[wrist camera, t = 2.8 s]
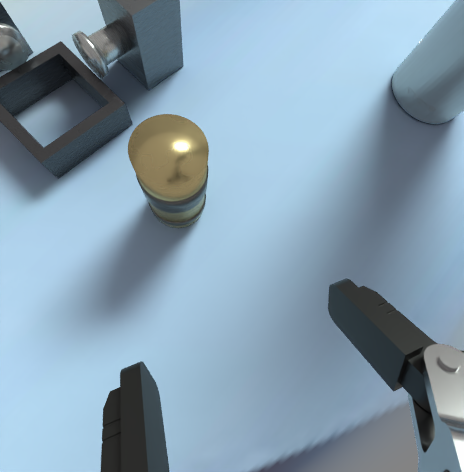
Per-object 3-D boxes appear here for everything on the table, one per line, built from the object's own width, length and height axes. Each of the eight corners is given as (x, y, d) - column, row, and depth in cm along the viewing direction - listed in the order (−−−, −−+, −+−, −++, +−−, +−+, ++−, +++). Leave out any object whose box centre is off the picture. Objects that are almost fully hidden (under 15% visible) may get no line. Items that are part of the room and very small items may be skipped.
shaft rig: (87, -24, 32) (53, -127, 24) (195, 77, 31) (195, 2, 23) (-61, 55, 28) (-161, -40, 20) (58, 178, 26) (0, 126, 19)
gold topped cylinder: (179, 169, 28) (171, 99, 18) (215, 204, 28) (226, 151, 18) (139, 202, 27) (108, 145, 17) (177, 239, 26) (166, 203, 17)
